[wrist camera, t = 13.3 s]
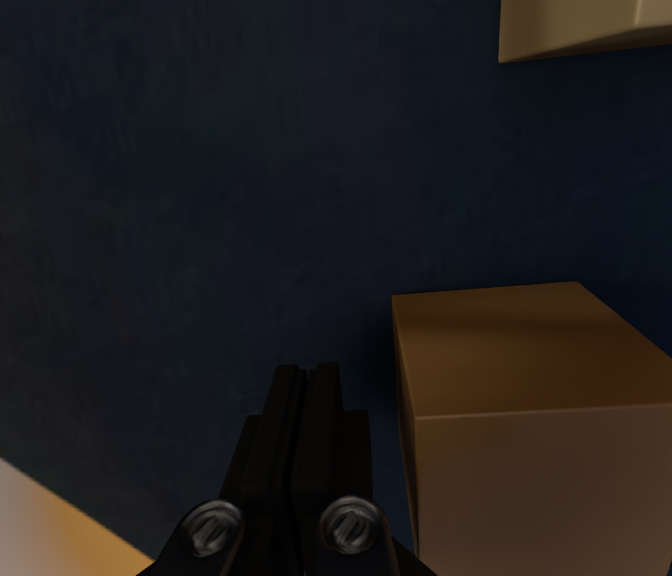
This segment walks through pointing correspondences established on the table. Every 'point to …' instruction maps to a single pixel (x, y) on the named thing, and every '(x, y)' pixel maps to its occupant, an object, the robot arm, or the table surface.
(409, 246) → the table surface
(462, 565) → the oak block
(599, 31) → the maple block
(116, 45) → the table surface
